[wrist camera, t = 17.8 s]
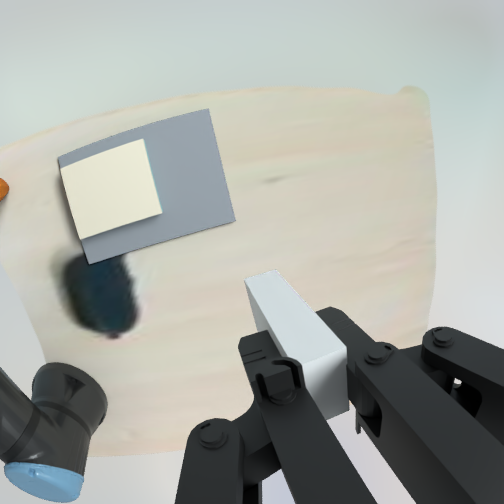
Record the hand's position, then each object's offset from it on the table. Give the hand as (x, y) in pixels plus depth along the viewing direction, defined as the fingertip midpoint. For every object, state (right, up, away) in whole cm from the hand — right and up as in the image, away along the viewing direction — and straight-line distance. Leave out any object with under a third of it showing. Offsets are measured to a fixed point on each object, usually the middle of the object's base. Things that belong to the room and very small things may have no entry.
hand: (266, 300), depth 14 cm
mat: (-15, +11, +25) cm, 31 cm away
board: (-13, +12, +23) cm, 29 cm away
